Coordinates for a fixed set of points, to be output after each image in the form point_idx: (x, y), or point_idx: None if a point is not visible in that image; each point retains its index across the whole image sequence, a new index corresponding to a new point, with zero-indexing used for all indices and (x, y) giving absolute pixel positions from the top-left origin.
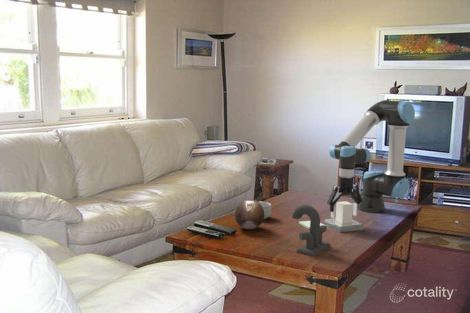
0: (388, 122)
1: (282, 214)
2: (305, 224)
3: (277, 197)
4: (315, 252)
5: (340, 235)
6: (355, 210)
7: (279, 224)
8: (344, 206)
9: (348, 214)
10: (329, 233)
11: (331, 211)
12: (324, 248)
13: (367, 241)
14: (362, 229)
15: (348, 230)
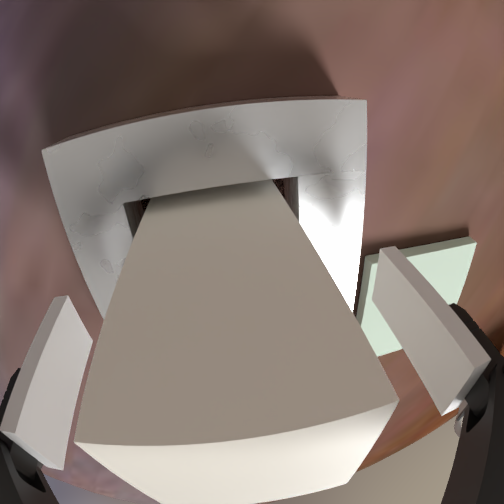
0: None
1: (394, 417)
2: (456, 290)
3: (285, 498)
4: None
5: (372, 25)
6: (52, 357)
7: (496, 313)
8: (344, 374)
9: (195, 266)
10: (424, 105)
11: (455, 308)
12: None
13: None
14: (67, 137)
15: (235, 101)
